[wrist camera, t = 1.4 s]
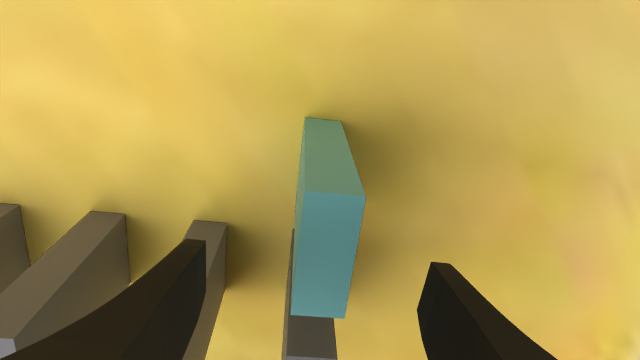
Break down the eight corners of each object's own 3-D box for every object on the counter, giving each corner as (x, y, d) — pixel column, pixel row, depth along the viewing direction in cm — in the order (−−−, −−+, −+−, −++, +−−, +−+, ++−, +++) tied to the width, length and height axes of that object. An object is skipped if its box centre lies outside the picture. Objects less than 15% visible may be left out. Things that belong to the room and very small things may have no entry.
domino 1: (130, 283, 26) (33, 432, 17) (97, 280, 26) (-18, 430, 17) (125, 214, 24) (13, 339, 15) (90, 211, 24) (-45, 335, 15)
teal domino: (329, 202, 24) (344, 318, 15) (296, 199, 24) (290, 314, 15) (340, 121, 22) (365, 196, 13) (304, 117, 22) (304, 190, 13)
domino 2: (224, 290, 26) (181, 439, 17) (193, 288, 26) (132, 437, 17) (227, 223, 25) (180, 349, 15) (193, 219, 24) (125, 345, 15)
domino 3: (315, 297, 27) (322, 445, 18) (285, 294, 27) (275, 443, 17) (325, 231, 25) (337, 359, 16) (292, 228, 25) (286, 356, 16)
